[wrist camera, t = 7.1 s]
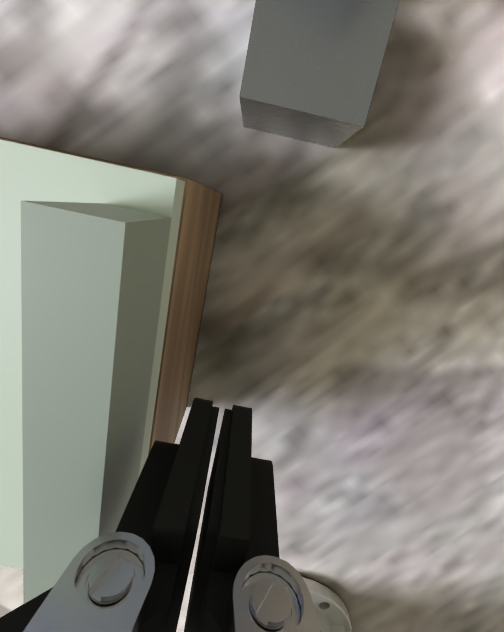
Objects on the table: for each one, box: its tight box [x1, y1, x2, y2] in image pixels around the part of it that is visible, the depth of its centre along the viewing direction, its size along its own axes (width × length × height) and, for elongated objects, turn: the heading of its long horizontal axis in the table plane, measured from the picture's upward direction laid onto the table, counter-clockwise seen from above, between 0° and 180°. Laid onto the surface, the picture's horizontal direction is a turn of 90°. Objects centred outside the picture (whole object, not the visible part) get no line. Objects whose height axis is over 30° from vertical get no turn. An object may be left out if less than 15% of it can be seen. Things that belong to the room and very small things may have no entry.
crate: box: [0, 137, 222, 455], centre depth 15 cm, size 16×14×10 cm
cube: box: [240, 0, 399, 148], centre depth 15 cm, size 5×5×5 cm
